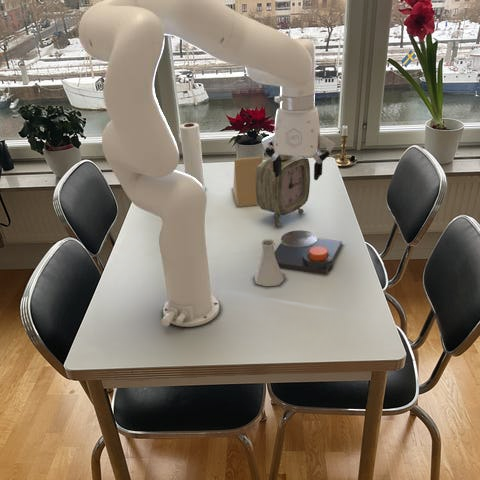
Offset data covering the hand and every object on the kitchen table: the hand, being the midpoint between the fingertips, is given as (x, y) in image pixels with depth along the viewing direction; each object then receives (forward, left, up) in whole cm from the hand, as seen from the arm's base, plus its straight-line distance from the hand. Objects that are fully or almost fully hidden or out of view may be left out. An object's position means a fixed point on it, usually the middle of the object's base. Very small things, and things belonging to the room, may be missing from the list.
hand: (297, 176), depth 129 cm
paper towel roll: (+31, +45, -20) cm, 58 cm away
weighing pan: (+1, 0, -17) cm, 17 cm away
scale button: (-6, -7, -17) cm, 20 cm away
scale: (-2, -3, -20) cm, 20 cm away
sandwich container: (+31, +26, -20) cm, 45 cm away
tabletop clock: (+18, +10, -20) cm, 29 cm away
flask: (-16, +2, -20) cm, 26 cm away
